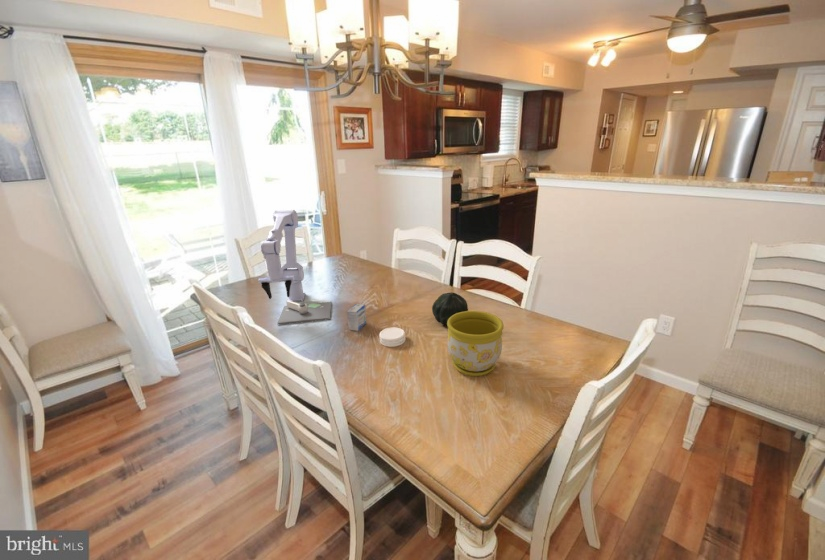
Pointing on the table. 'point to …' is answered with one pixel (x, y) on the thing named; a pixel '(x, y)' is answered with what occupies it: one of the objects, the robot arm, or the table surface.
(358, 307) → the medicine box
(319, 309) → the dial base
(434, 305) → the squash
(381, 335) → the coaster
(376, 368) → the table surface
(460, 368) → the flowerpot
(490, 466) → the table surface
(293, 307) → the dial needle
